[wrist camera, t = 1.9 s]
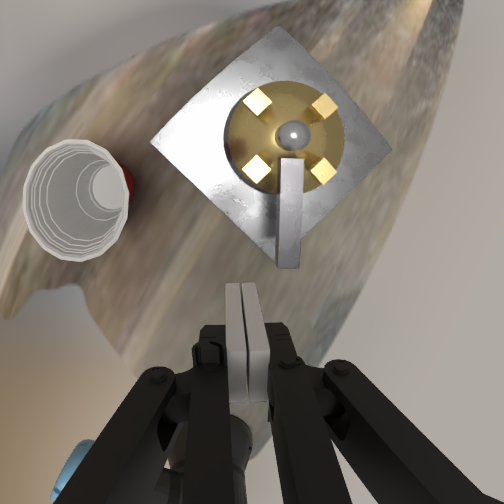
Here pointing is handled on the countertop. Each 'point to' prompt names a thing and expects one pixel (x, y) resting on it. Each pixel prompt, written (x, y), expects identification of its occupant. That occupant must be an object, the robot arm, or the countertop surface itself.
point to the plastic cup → (76, 199)
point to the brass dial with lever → (287, 152)
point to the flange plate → (207, 133)
